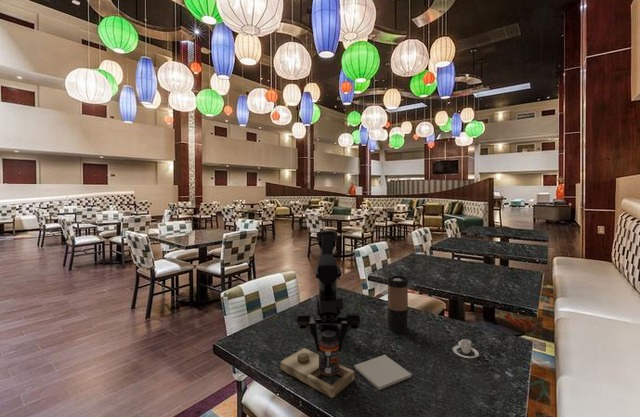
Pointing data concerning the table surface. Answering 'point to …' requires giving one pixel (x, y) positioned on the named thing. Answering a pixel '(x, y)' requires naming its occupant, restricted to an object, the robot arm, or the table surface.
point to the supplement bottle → (328, 354)
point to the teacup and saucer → (465, 348)
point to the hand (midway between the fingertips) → (329, 351)
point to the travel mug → (397, 303)
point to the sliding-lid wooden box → (315, 372)
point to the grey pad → (382, 371)
